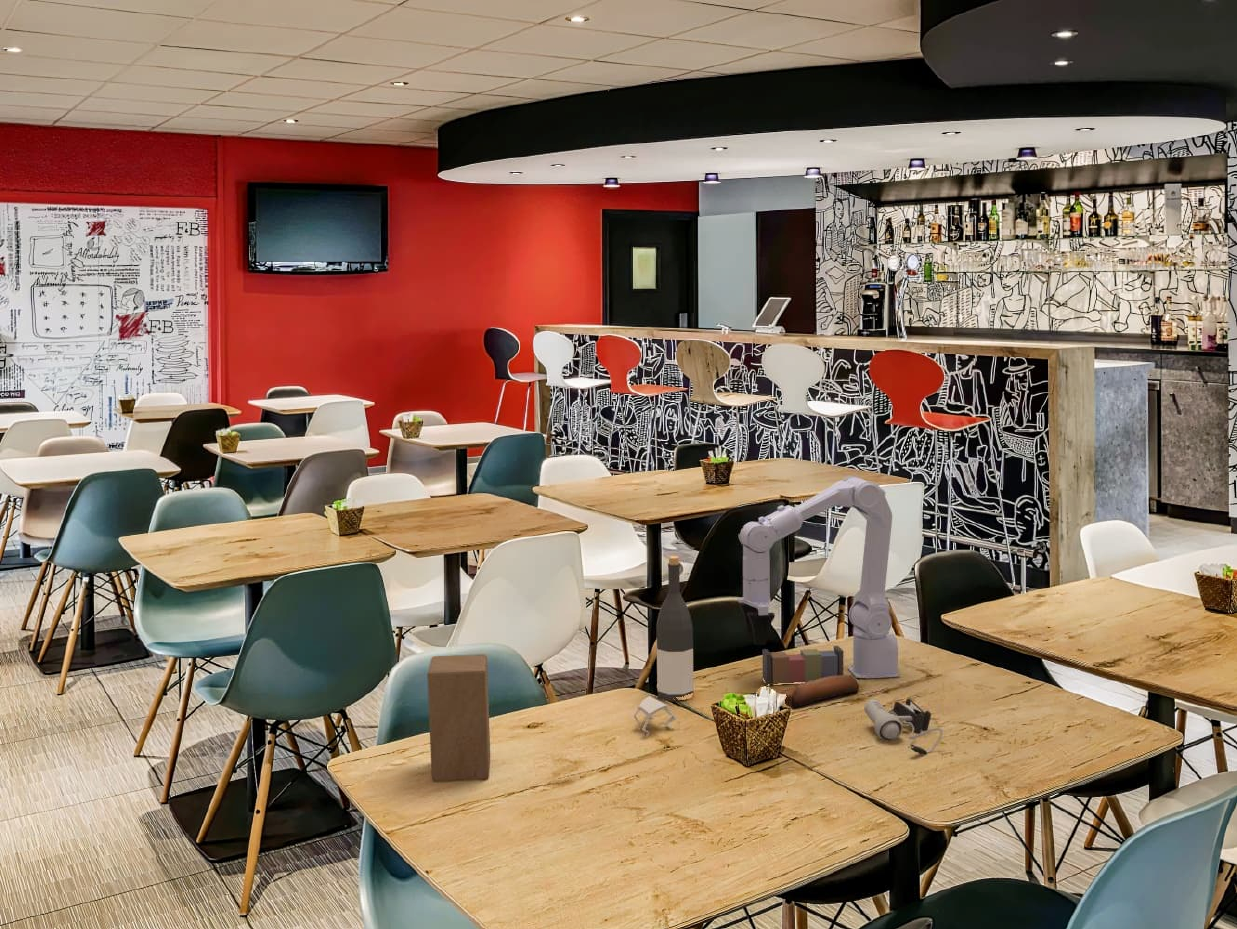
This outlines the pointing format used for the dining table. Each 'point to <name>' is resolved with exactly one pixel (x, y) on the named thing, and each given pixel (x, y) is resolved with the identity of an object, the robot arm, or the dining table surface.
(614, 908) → the dining table surface
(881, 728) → the clip-on lamp
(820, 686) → the sunglasses case
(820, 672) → the book row
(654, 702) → the grey legged block
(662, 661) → the wine bottle
